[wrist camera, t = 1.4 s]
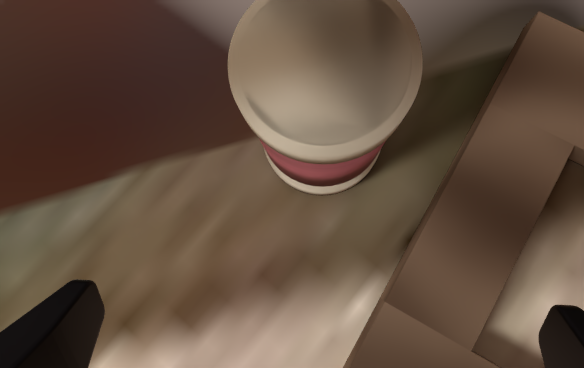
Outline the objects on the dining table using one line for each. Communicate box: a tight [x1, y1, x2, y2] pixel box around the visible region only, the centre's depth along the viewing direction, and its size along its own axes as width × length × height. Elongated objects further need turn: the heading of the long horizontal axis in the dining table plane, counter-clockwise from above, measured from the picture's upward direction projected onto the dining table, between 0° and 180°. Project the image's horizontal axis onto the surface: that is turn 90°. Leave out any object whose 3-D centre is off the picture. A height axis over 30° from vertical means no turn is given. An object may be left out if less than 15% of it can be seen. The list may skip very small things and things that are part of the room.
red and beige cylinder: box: [228, 0, 423, 196], centre depth 17 cm, size 6×6×9 cm
